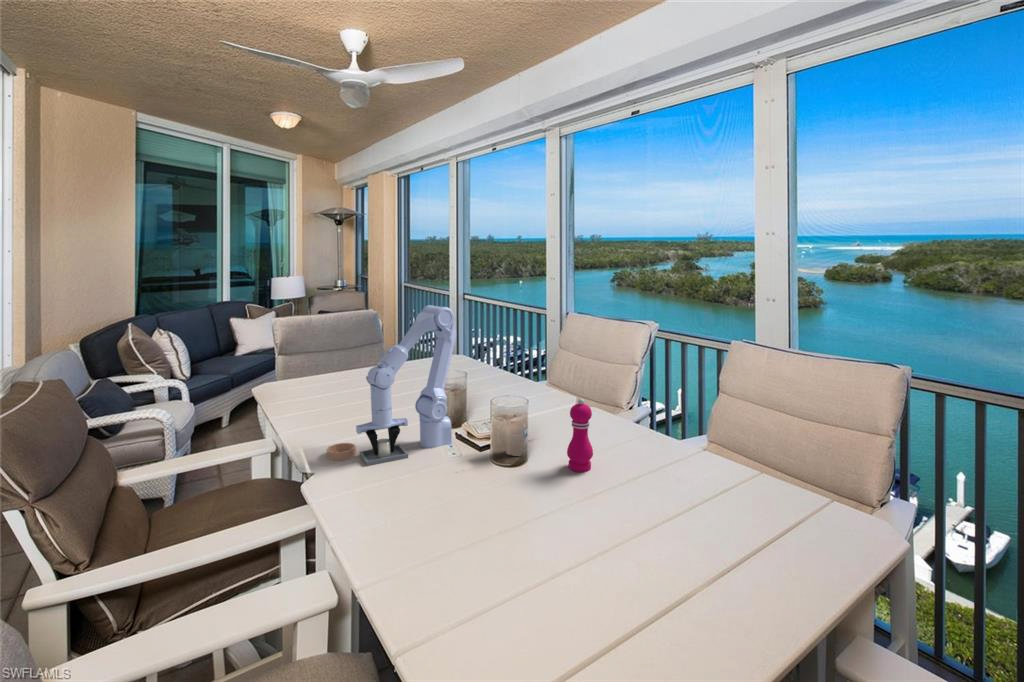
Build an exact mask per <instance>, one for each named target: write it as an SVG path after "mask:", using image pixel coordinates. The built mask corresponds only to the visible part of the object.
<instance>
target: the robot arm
mask: <svg viewBox="0 0 1024 682" xmlns="http://www.w3.org/2000/svg"><path fill="white" fill-rule="evenodd" d="M456 318H457V317H456V315H455V313H454V312H453V310H452V309H451V308H450V307H448V306H436V305H433V304H429V305H426V306H424V307H423V309H422V310H421V312H419V313H418V314H417V316H416V319H415V321H414V322H413V324H412V325H411V327H410V328H409V329H408V330H407V332H406V334H405V335H404V337H403V338H402V339H401V341H399V342H400V343H399V344H396V345H392V346H391V347H388V348H387V349H386V353H385V354H384V356H383V357H382V358H381V360H380V361H378V362H377V363H376V365H375V366H373V367H371V368H370V369H369V371H368V372H367V375H366V376H365V378H366V381H367V383H368V384H369V385H370V409H371V410H370V411H371V421H370V422H369V421H368V422H366V423H363V424H358V425H355V430H356V431H355V432H356V434H357V435H360V434H362V433H365V434H366V436H367V437H368V440H369V442H370V444H371V447H372V448H371V449H373V452H374V454H375V455H378V449H377V440H378V434H377V431H380V430H385V429H387V433H388V439H390V448H391V452H394V446H395V445H396V442H397V439H398V436H399V435H400V433H401V428H400V427H408V426H409V420H408V418H406V417H401V418H393V405H392V403H393V402H392V385H393V384H394V383H395V377H396V375H397V373H398V372H399V370H400V369H401V368H402V366H403V365H404V364H405V363H406V362H407V360H408V359H409V352H410V350H411V349H413V347H414V346H415V345H416V344H417V342H418V341H419V340H420V339H421V338H422V337H423V335H425V333H427V332H432V331H433V333H434V334H435V336H436V338H437V340H436V343H435V348H434V353H433V357H432V361H431V366H430V369H429V374H428V379H427V383H426V386H425V387H424V388H423V389H421V390H420V395H419V396H418V397H417V399H416V401H415V404H414V407H415V411H416V413H418V417H419V437H420V440H419V441H420V443H419V445H420V447H423V448H424V449H425V448H426V449H433V448H435V449H436V448H439V447H442V446H446V445H447V446H449V447H453V437H452V436H453V435H452V434H453V433H452V431H453V430H452V421H451V419H450V417H449V416H447V413H448V406H447V402H448V397H447V395H446V394H447V393H445V386H446V381H447V378H448V373H449V369H450V365H451V362H452V361H451V360H452V356H453V351H454V347H455V344H456V343H455V342H456V339H457V331H456Z"/></svg>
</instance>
